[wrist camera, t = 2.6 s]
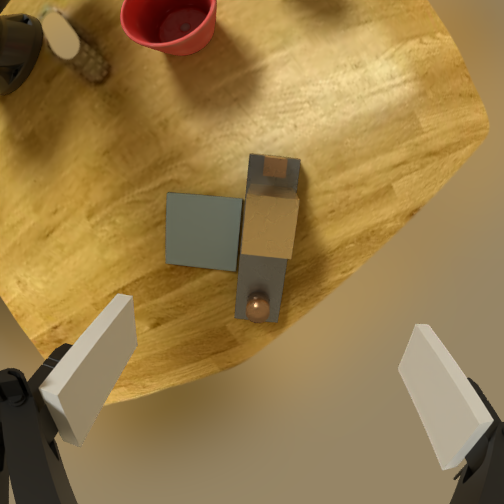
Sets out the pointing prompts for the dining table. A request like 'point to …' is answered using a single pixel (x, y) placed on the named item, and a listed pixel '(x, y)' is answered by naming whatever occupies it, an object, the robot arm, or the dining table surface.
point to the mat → (202, 230)
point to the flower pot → (170, 24)
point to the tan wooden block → (270, 221)
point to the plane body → (260, 267)
